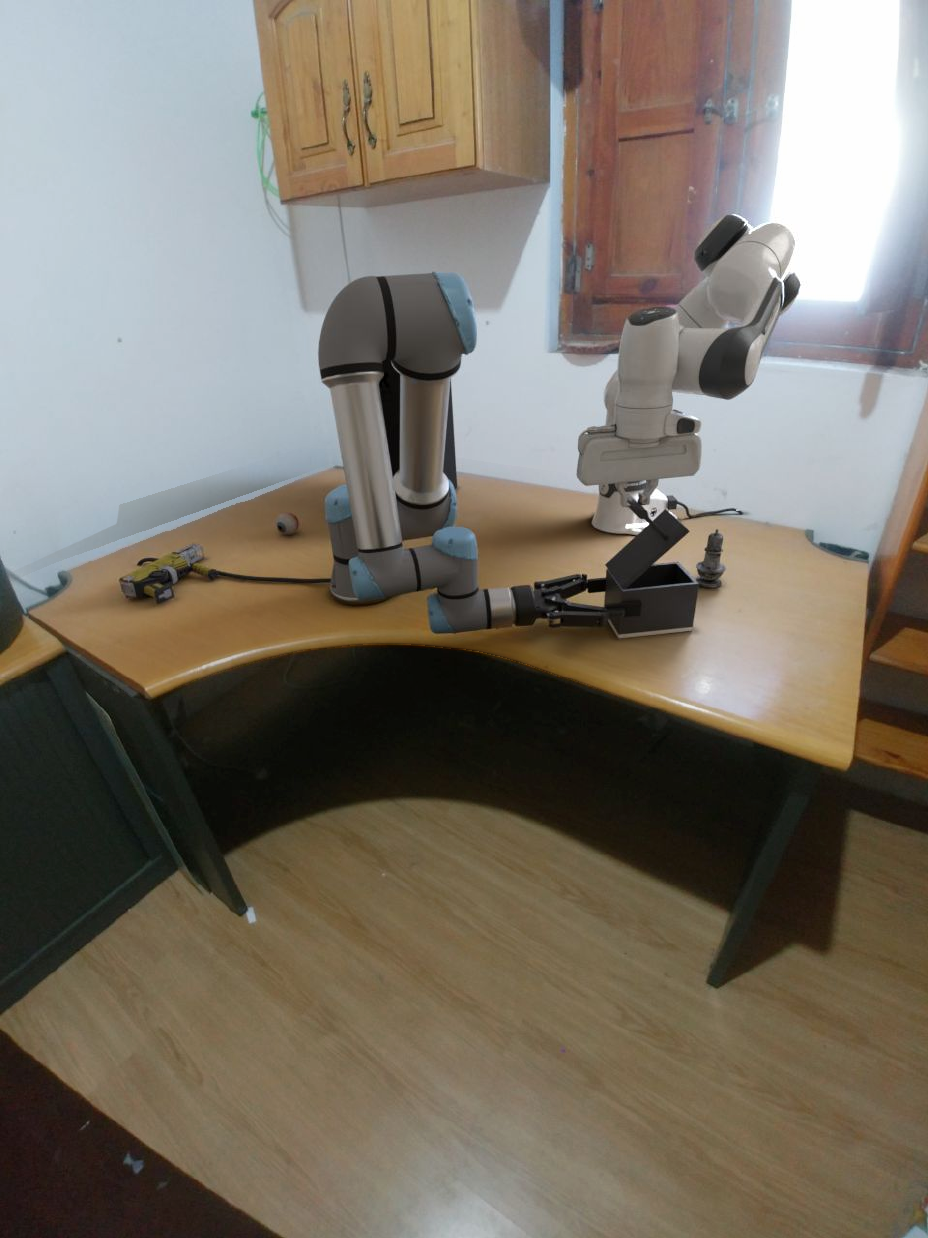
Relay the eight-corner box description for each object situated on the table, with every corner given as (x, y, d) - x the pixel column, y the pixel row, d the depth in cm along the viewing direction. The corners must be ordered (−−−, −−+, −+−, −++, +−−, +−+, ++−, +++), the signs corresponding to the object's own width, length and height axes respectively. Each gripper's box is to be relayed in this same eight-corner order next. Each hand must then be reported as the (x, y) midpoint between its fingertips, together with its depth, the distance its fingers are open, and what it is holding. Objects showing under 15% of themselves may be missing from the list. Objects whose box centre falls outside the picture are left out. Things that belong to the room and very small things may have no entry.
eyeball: (273, 537, 164) (268, 516, 161) (287, 528, 169) (282, 508, 166) (291, 539, 161) (286, 518, 158) (305, 530, 166) (301, 510, 163)
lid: (668, 512, 110) (639, 481, 106) (690, 531, 102) (659, 499, 98) (608, 567, 114) (578, 540, 111) (624, 590, 106) (592, 561, 103)
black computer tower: (424, 530, 162) (407, 348, 139) (353, 528, 166) (326, 351, 144) (457, 486, 193) (448, 332, 171) (397, 485, 198) (380, 334, 175)
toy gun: (240, 551, 148) (190, 541, 152) (168, 591, 128) (113, 578, 132) (243, 568, 150) (193, 558, 154) (172, 610, 130) (117, 597, 134)
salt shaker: (725, 588, 125) (735, 534, 119) (695, 587, 126) (703, 534, 120) (720, 576, 130) (730, 523, 124) (692, 575, 131) (700, 523, 125)
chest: (672, 606, 120) (678, 561, 115) (692, 630, 112) (699, 583, 107) (603, 613, 119) (606, 568, 114) (618, 638, 111) (622, 591, 106)
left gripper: (502, 596, 122) (609, 586, 124) (523, 656, 103) (650, 643, 105) (501, 563, 118) (612, 552, 120) (523, 619, 99) (655, 605, 101)
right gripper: (584, 432, 93) (580, 517, 100) (711, 420, 95) (699, 505, 102) (573, 423, 98) (570, 504, 105) (693, 413, 100) (682, 493, 107)
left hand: (630, 595), depth 112 cm, fingers closed on chest, 9 cm apart
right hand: (634, 504), depth 103 cm, fingers closed
